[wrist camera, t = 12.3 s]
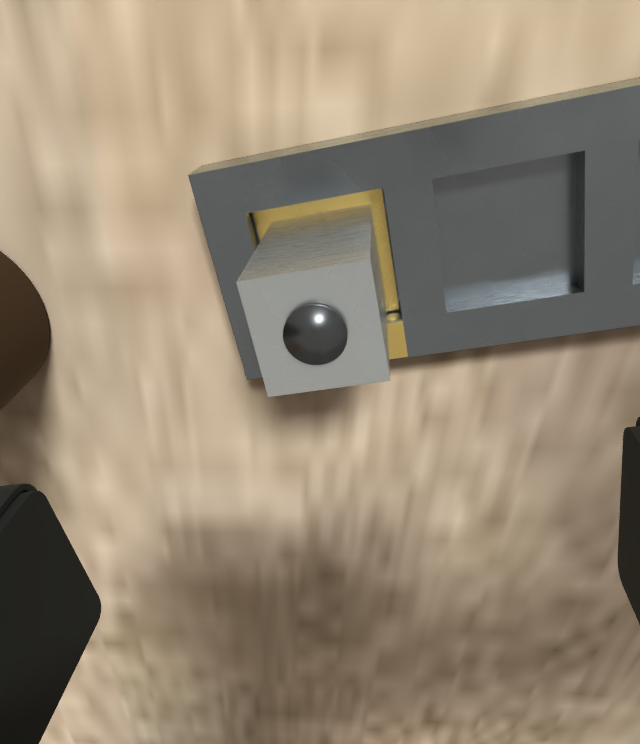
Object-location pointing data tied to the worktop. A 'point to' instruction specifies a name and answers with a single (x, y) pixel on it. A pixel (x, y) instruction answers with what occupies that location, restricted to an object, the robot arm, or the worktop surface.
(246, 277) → the grey block with knob
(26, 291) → the olive oil
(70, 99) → the worktop surface
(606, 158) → the tray with square compartments
